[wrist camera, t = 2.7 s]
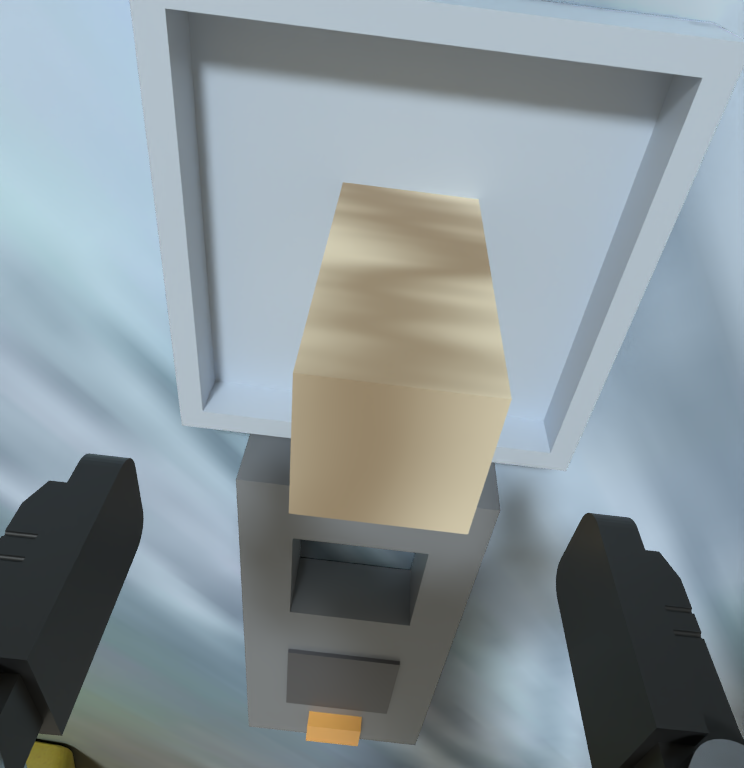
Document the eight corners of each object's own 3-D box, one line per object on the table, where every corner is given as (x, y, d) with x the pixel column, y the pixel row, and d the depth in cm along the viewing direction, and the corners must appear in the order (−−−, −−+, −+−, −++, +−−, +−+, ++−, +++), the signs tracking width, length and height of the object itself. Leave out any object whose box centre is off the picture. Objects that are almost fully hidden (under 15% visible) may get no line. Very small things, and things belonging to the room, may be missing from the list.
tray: (714, 22, 16) (753, 43, 14) (555, 424, 25) (565, 471, 23) (161, -50, 16) (124, -39, 14) (201, 381, 25) (182, 425, 23)
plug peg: (478, 199, 18) (511, 399, 11) (453, 313, 21) (467, 534, 14) (342, 182, 18) (292, 372, 11) (334, 299, 21) (288, 513, 14)
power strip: (493, 453, 26) (502, 527, 23) (415, 694, 40) (414, 759, 37) (252, 424, 26) (230, 495, 23) (259, 676, 40) (246, 740, 37)
